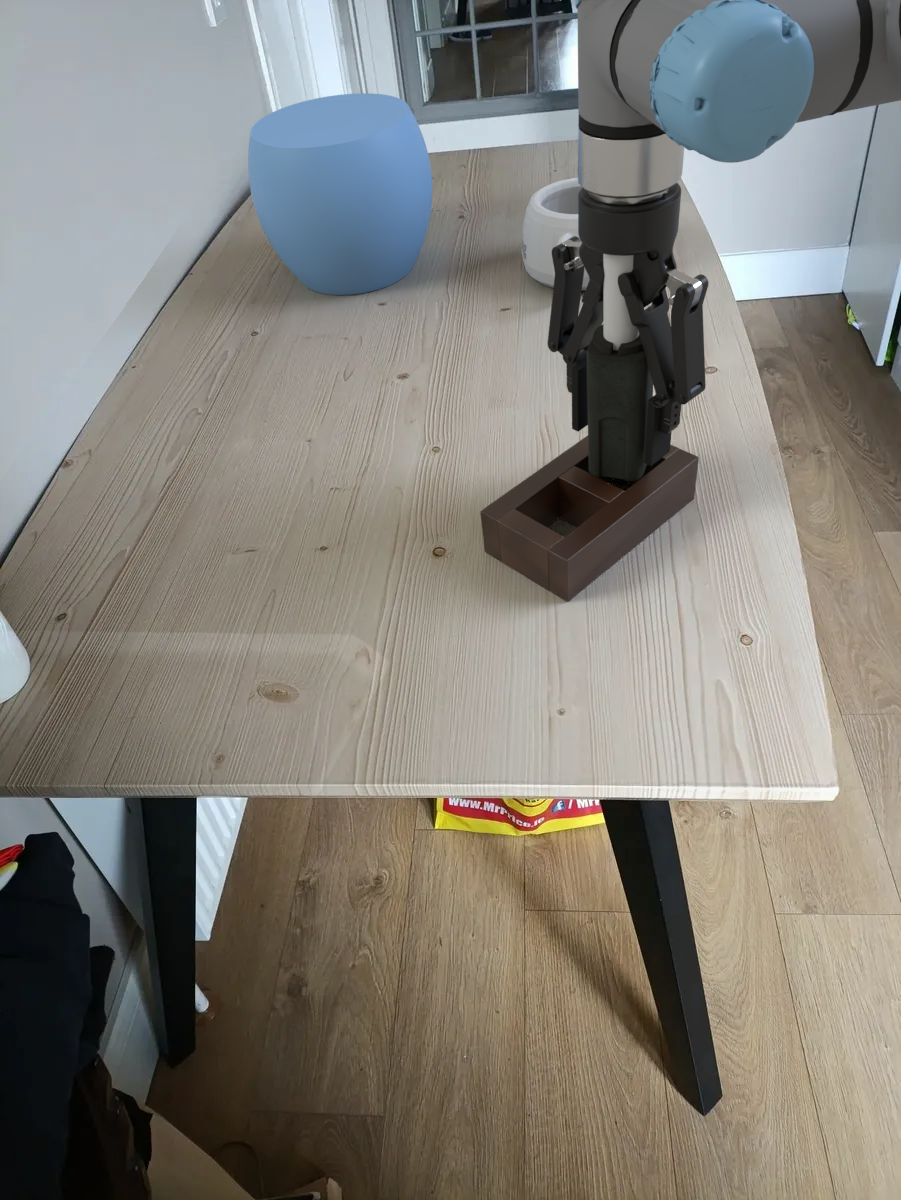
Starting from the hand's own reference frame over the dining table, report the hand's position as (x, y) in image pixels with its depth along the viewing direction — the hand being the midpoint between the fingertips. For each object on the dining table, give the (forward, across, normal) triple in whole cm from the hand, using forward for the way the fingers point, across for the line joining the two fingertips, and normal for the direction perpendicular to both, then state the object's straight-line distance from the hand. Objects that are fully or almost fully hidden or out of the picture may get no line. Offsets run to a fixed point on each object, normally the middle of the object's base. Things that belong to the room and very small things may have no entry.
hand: (619, 439), depth 81 cm
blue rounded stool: (+8, +64, -19) cm, 67 cm away
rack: (+7, 0, +4) cm, 9 cm away
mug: (+8, +35, -35) cm, 50 cm away
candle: (+3, 0, 0) cm, 3 cm away
